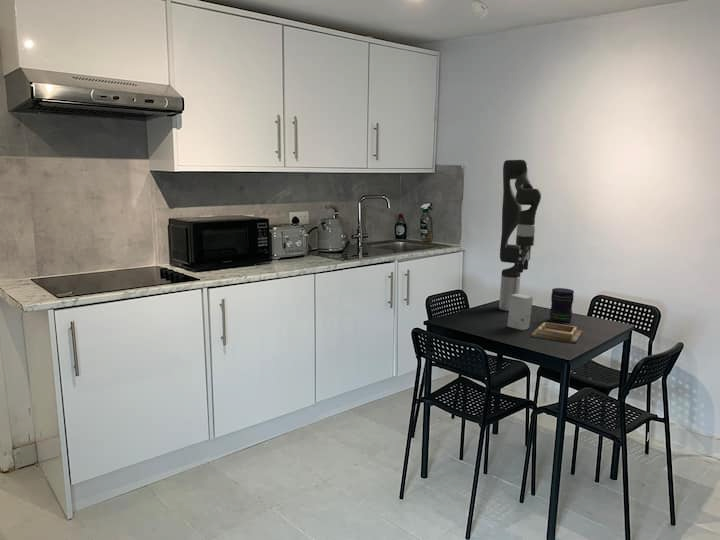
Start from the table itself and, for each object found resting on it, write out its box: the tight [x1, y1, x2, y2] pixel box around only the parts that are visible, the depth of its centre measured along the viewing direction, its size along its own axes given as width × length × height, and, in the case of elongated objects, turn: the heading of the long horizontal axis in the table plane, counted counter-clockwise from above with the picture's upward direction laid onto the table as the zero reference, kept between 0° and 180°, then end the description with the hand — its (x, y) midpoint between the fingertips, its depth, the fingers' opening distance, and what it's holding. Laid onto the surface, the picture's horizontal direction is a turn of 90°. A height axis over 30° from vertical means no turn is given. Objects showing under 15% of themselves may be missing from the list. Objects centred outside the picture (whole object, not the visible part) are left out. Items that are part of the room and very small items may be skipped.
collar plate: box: [530, 321, 583, 344], centre depth 240 cm, size 18×18×3 cm
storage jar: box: [549, 287, 575, 324], centre depth 262 cm, size 10×10×15 cm
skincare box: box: [507, 293, 534, 331], centre depth 249 cm, size 8×6×15 cm
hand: (522, 271), depth 246 cm, fingers open, 8 cm apart
